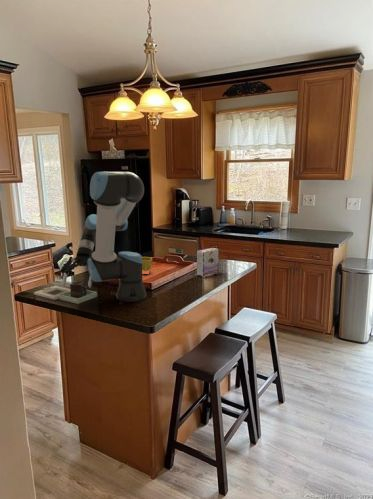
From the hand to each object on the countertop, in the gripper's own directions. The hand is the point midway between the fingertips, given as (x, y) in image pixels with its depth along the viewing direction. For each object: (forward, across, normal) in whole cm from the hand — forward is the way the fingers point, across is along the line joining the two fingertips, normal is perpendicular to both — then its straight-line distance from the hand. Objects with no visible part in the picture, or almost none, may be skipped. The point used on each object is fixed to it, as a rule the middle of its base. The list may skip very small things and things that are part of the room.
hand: (75, 286), depth 187 cm
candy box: (-32, -63, -42) cm, 82 cm away
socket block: (-1, +15, -11) cm, 18 cm away
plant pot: (-32, -23, -42) cm, 58 cm away
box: (+3, 0, -6) cm, 7 cm away
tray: (+3, 0, -7) cm, 7 cm away
